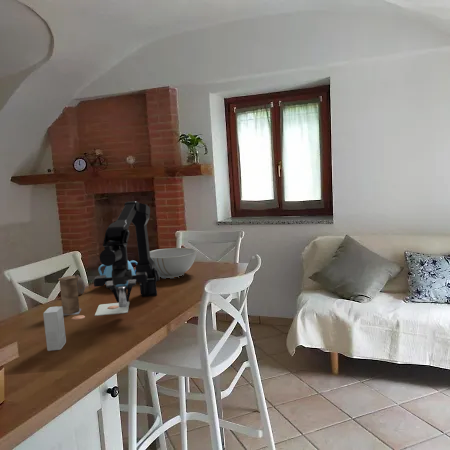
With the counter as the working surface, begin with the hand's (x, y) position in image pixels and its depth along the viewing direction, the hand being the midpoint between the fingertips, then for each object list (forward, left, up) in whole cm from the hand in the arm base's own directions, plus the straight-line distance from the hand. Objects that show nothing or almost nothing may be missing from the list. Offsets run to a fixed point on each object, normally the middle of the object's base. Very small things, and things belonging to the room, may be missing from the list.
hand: (123, 301), depth 163 cm
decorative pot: (+5, -50, -6) cm, 51 cm away
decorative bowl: (-20, -61, -6) cm, 65 cm away
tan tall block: (+21, -12, -5) cm, 25 cm away
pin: (0, 0, -2) cm, 2 cm away
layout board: (+11, -10, -6) cm, 16 cm away
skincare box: (+19, +24, -6) cm, 31 cm away
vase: (+23, -40, -6) cm, 47 cm away
